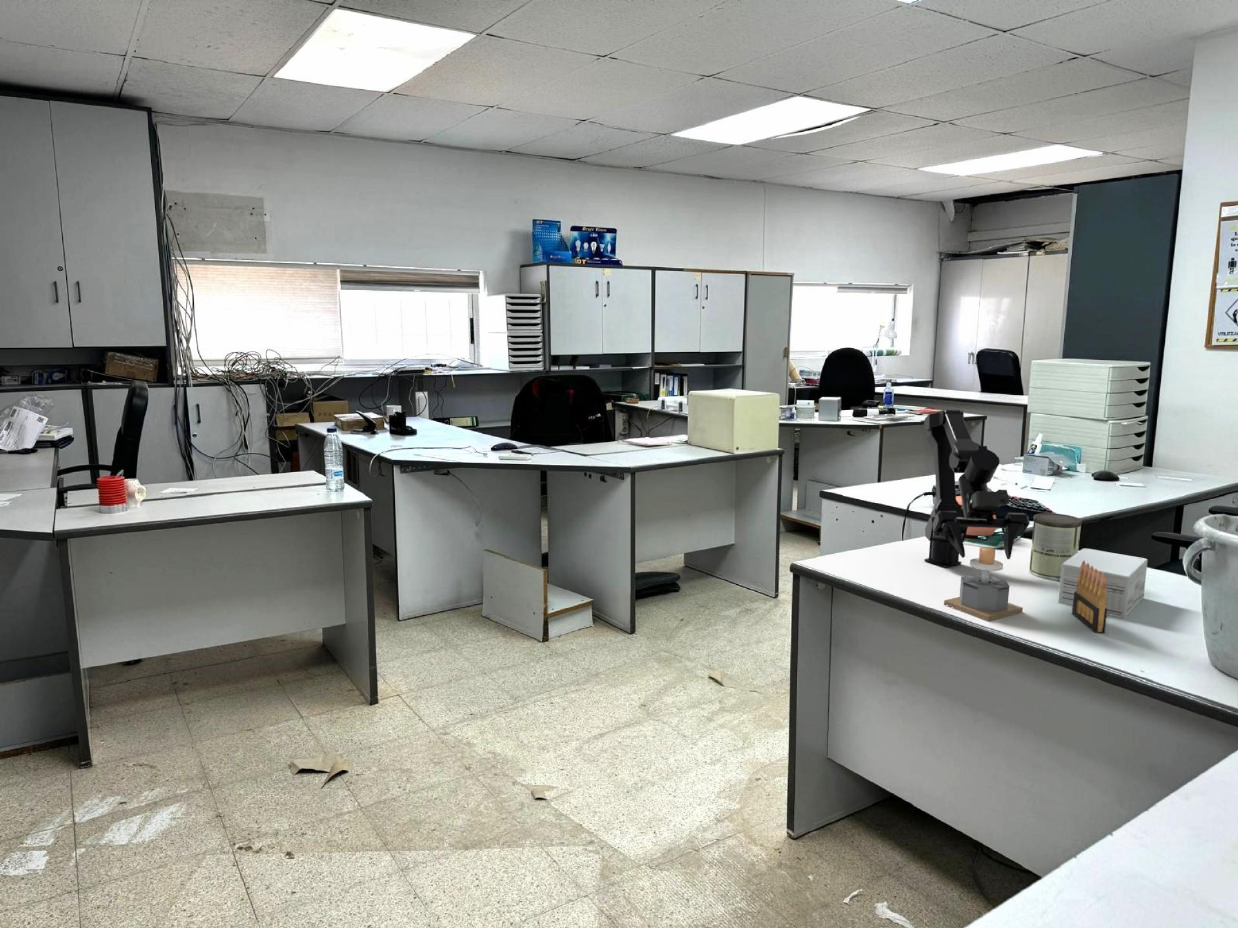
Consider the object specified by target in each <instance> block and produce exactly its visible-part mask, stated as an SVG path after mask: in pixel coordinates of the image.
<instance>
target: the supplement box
mask: <svg viewBox="0 0 1238 928" xmlns="http://www.w3.org/2000/svg"><path fill="white" fill-rule="evenodd" d="M1083 561H1085V564H1087V563H1088V564H1089V566H1090V567H1091V566H1093V568H1094V570H1095V569H1097V571H1098V573H1099V571H1101V573H1102V576H1103V574H1105V575H1106V579H1107V587H1106V588H1107V590H1106V593H1107V599H1106V608H1107V615H1109V616H1110V615H1111V616H1114V617H1120V618H1124V619H1125V618H1126V617H1127V616H1128V615H1129V613H1130V612H1131V611H1133V609H1134V608H1135V607H1136V606H1137V605H1138V604H1139V603H1140V602H1141V600H1143V599H1144V595H1145V588H1146V587H1145V586H1146V578H1147V569H1148V561H1149V560H1148V559H1147V558H1144V557H1138V556H1132V555H1128V554H1120V553H1114V552H1108V551H1104V550H1098V549H1092V548H1086V547H1085V548H1082V549H1080V550H1078V553H1076V554H1075V555H1074V556H1072V557H1071V558H1070V559H1068V560H1067V561H1065V562H1064V563H1063V564H1062V566H1061V577H1060V580H1059V589H1058V590H1059V591H1058V600H1057V601H1058V602H1057V603H1058V604H1060V605H1065V606H1070V607H1073V599H1074V592H1075V591H1076V588H1077V580H1078V577H1079V571H1080V567H1081V564H1082V562H1083Z"/></svg>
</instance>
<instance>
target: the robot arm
mask: <svg viewBox="0 0 1238 928" xmlns="http://www.w3.org/2000/svg"><path fill="white" fill-rule="evenodd" d="M964 417H965V416H964V411H963V410H960V409H946V408H945V409H943V410H940V411H938V412H935V413H929V414H928V415H927V416H926V417H925V418H924V420H923V421H924V422H923V429H924V431H925V432H926V439H927V441H928V442H929V444H930V445H931V446H932V448H933V452H934V456H933V457H934V473H935V491H936V492H935V493H936V503H935V505H934V507H933V509H932V510H931V512H930V517H929V519H928V520H927V523H926V525H925V528H924V530H925V532H924V533H925V534H924V537H925V538H926V539H927V540H928V541H929V548H928V549H929V550H928V551H929V553H928V558H924V560H923V561H924V562H926V563H929V564H930V563H931V564H933V565H936V566H938V567H942V568H947V567H951V566H952V567H953V566H957V565H962V561H960V559H959V557H960V556H961V558H965V557H966V550H965V549H966V548H965V546H964V543H965V541H966V536H967V535H966V532H967V528H968V527H979V528H996V529H1001V533H1002V534H1003V535H1002V536H1001V538H1002V543H1003V548H1004V553H1005V557H1006V559H1007V560H1010V559H1011V558H1012V557H1011V556H1012V553H1013V546H1014V542H1015V540H1016V539H1018V537H1022V536H1023V535H1025V534H1024V533H1025V532H1026V531H1027V529H1028V527H1029V526H1030V524H1031V522H1030V518H1029V516H1028V514H1026V513H1024V512H1007V514H1006V515H1005V517H1004V518H996V519H994V518H993V515H997V513H998V508H999V509H1000V508H1001V506H1007V505H1008V504H1009V502H1010V501H1009V492H1008V490H1007V489H997V490H996V491H989V489H988V483H990V482H991V481H992V479H993V477H994V475H995V473H996V470H997V469H998V467H999V465H1000V458H999V456H998V455H997V454H996V453H995V452H993V451H992V450H989V449H988V445H981V444H979V443H978V442H975V441H973V438H972V436H971V434H970V432H969V429H968V426H967V424H966V422H965V418H964ZM955 474H961V475H960V476H959V478H958V490H959V493H960V496H961V499H962V505H960V504H959V503H958V502H957V500H956V496H957V493H956V492H957V491H956V475H955Z"/></svg>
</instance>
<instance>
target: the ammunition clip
mask: <svg viewBox="0 0 1238 928" xmlns="http://www.w3.org/2000/svg"><path fill="white" fill-rule="evenodd" d="M1106 587H1107V579H1106V575H1105V574H1103V576H1102V573H1101V571H1099V573H1098V571H1097V569H1095V570H1094V568H1093V566H1091V567H1090V566H1089V564H1088V563H1087V564H1085V561H1083V562H1082V564H1081V567H1080V571H1079V577H1078V580H1077V588H1076V591H1075V592H1074V599H1073V606H1071V607H1072V609H1071V615H1072V616H1073V617H1074V618H1076V619H1077V620H1078V621H1080V623H1083V625H1085V626H1086V627H1087V629H1090V631H1092V632H1094V633H1095V634H1106V624H1107V615H1108V614H1107V608H1106V599H1107V593H1106V590H1107V588H1106Z"/></svg>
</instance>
